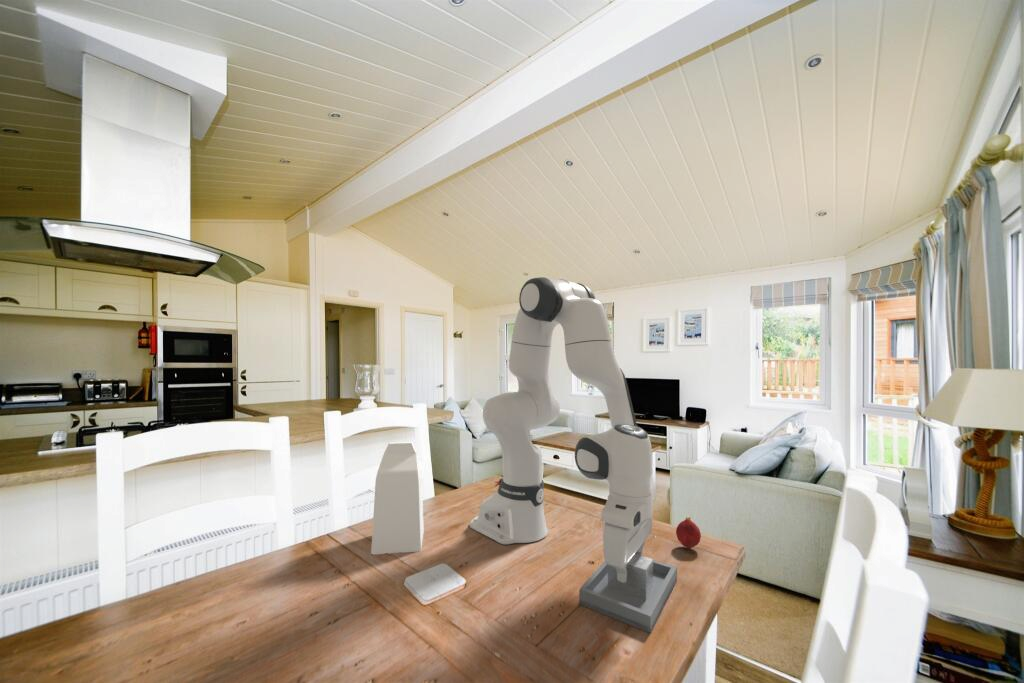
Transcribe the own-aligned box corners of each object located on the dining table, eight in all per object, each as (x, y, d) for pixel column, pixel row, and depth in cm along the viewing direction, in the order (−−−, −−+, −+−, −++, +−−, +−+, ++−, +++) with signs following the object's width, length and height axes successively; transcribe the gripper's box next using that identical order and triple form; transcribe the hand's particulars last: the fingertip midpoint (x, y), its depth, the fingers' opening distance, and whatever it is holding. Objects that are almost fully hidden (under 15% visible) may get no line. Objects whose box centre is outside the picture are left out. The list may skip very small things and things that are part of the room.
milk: (371, 554, 98) (372, 448, 99) (379, 533, 110) (380, 438, 110) (420, 551, 100) (421, 447, 101) (423, 530, 112) (424, 437, 112)
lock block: (607, 586, 84) (607, 557, 84) (616, 575, 88) (616, 548, 88) (646, 600, 79) (646, 569, 79) (653, 588, 83) (653, 559, 84)
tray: (579, 604, 79) (579, 589, 80) (615, 561, 96) (615, 548, 96) (650, 633, 71) (650, 616, 72) (676, 580, 88) (676, 567, 88)
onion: (703, 555, 99) (703, 522, 99) (678, 553, 100) (678, 520, 100) (697, 544, 105) (697, 513, 105) (674, 542, 106) (674, 511, 106)
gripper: (631, 486, 94) (631, 545, 94) (597, 516, 78) (597, 587, 77) (659, 492, 91) (659, 553, 90) (629, 524, 74) (629, 599, 74)
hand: (630, 569), depth 84 cm, fingers open, 8 cm apart
